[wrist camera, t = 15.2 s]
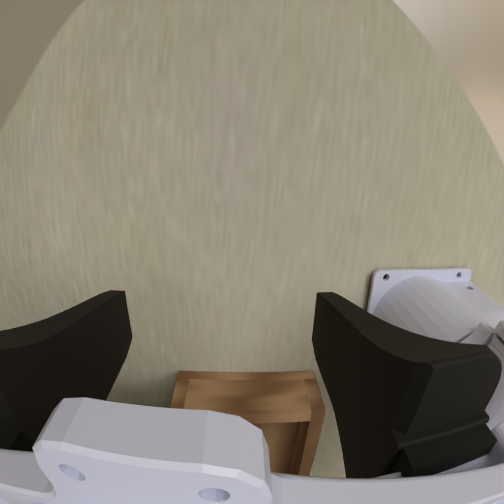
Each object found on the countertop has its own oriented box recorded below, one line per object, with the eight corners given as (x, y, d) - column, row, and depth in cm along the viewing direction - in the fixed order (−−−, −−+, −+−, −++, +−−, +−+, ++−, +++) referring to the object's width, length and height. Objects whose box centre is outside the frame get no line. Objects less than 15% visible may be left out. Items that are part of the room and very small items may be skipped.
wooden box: (313, 370, 25) (325, 410, 21) (295, 473, 30) (299, 506, 26) (179, 370, 25) (168, 411, 20) (197, 473, 30) (193, 507, 25)
